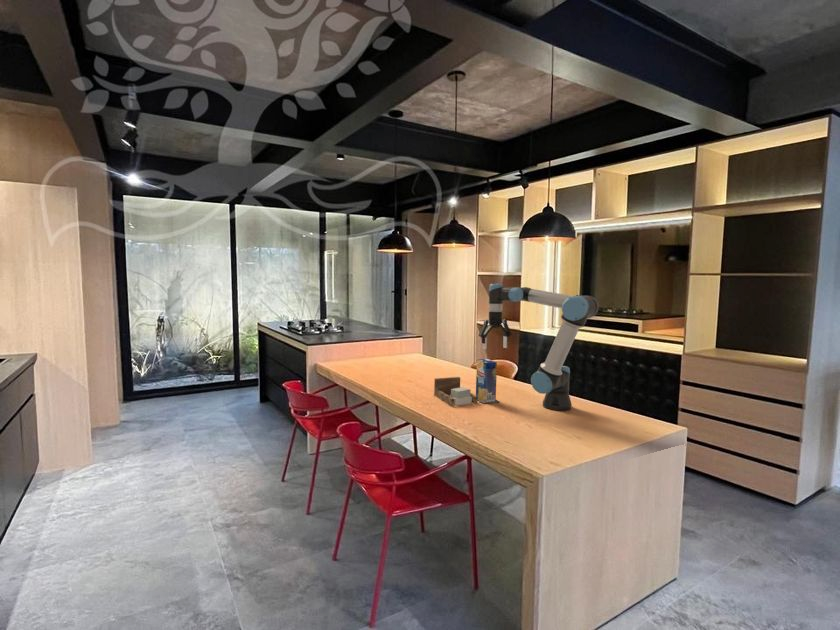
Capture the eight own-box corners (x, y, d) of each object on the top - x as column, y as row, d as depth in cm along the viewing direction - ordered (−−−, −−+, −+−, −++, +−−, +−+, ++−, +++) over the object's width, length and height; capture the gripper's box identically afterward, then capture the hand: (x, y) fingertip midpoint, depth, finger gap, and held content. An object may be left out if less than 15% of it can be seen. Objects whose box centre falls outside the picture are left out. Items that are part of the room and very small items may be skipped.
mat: (499, 402, 255) (499, 401, 255) (483, 404, 252) (483, 402, 251) (486, 396, 268) (486, 395, 268) (471, 397, 264) (471, 396, 264)
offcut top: (470, 396, 253) (470, 389, 253) (457, 398, 248) (457, 391, 248) (463, 393, 258) (463, 387, 258) (450, 396, 253) (451, 389, 252)
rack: (477, 403, 252) (477, 386, 251) (451, 406, 246) (451, 388, 245) (458, 393, 274) (459, 376, 273) (434, 395, 268) (434, 378, 267)
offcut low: (471, 404, 252) (471, 397, 252) (455, 405, 248) (455, 398, 248) (465, 400, 258) (465, 394, 258) (449, 402, 255) (449, 395, 254)
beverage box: (486, 396, 266) (487, 358, 264) (495, 401, 256) (497, 362, 254) (475, 396, 263) (476, 359, 261) (485, 402, 253) (486, 363, 251)
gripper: (510, 310, 266) (509, 346, 267) (473, 311, 256) (472, 348, 257) (517, 311, 259) (517, 348, 260) (479, 312, 249) (479, 350, 250)
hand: (495, 348), depth 259 cm, fingers open, 13 cm apart
